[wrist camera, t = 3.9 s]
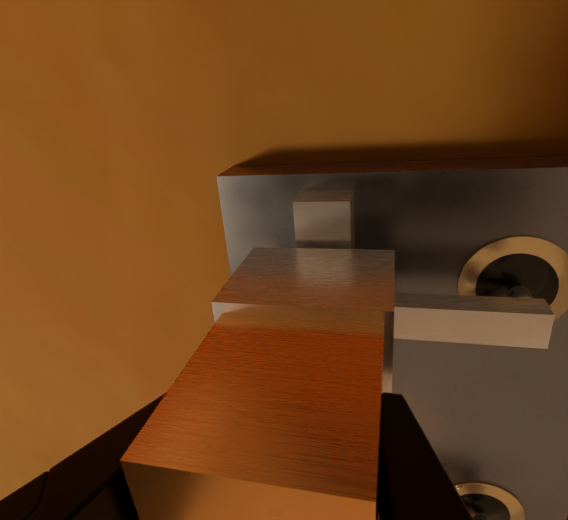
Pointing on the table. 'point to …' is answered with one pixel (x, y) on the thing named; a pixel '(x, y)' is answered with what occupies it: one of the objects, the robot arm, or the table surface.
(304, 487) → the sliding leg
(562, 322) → the bolt plate
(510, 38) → the table surface
